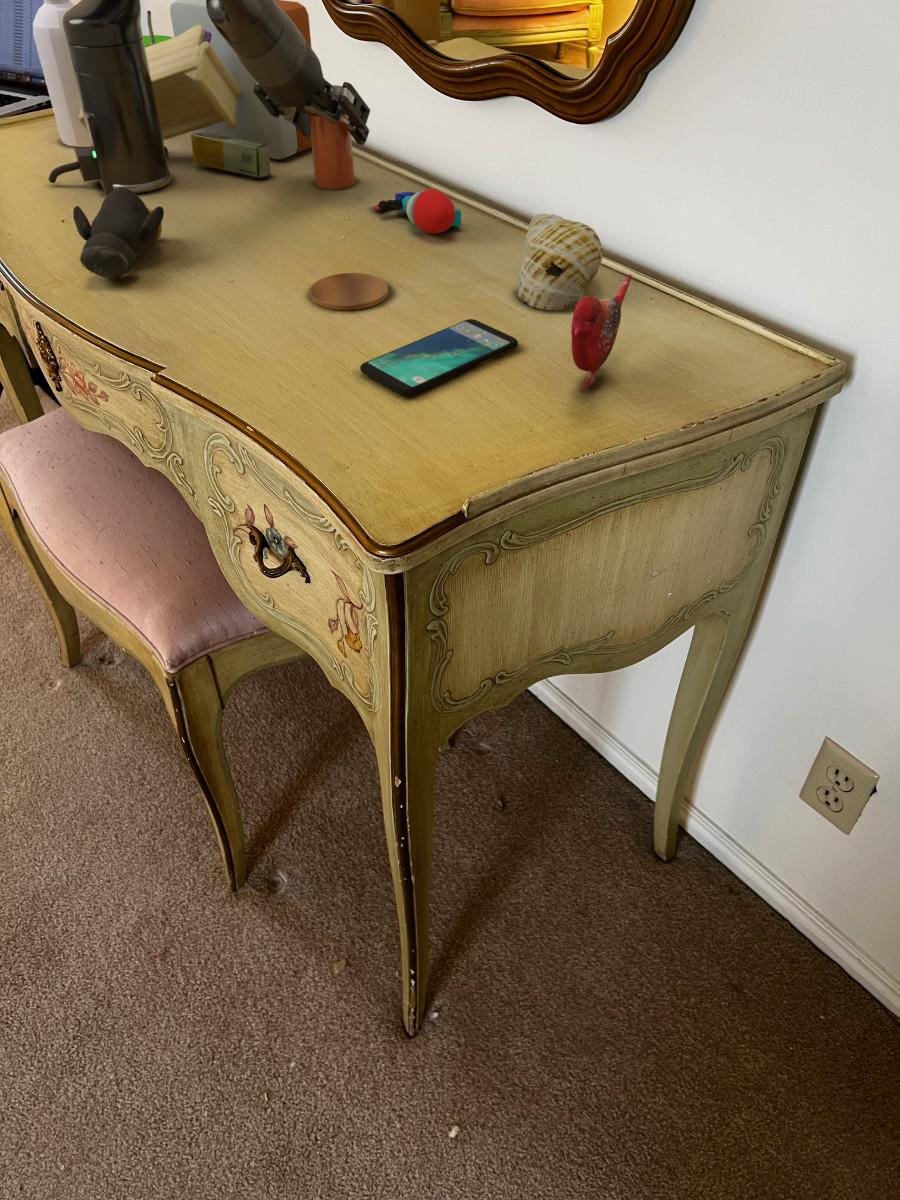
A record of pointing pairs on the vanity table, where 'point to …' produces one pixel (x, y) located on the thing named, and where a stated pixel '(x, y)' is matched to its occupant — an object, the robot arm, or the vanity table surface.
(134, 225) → the toy
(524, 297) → the seashell
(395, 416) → the vanity table surface
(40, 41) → the soap bottle
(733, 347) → the vanity table surface
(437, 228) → the toy figure
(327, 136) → the jar
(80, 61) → the robot arm
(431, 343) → the smartphone
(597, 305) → the decorative bird figurine
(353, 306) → the coaster
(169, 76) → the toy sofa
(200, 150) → the medication box
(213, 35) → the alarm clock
